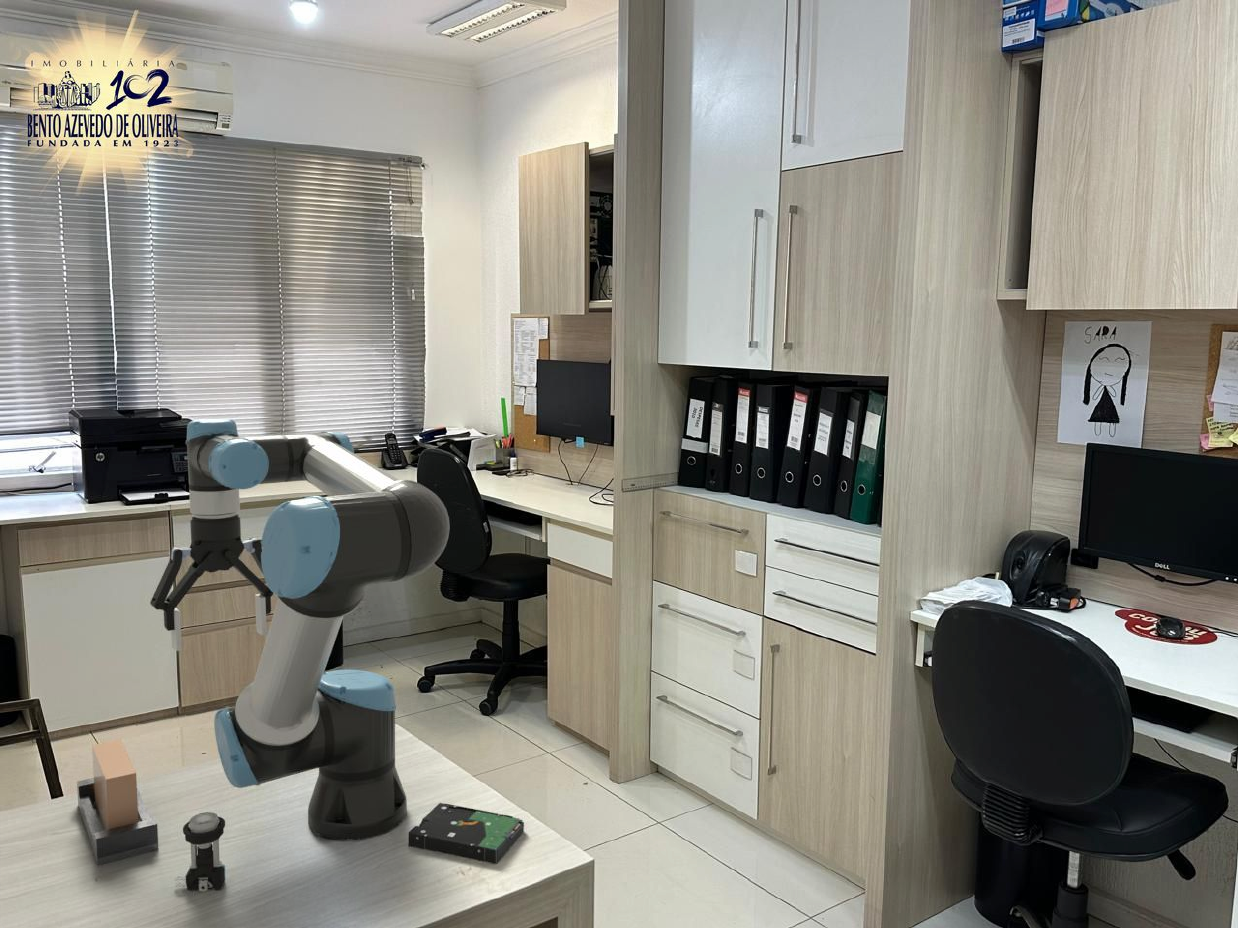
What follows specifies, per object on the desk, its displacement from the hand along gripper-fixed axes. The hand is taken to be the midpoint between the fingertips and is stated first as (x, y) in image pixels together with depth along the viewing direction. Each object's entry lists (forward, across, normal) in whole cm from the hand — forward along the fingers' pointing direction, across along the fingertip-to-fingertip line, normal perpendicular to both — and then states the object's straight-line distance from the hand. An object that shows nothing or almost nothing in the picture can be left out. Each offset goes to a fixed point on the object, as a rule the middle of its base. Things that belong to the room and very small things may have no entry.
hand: (220, 641), depth 161 cm
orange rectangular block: (+24, +18, +4) cm, 30 cm away
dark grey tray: (+25, +18, +4) cm, 31 cm away
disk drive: (+26, -23, +39) cm, 53 cm away
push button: (+26, +13, +28) cm, 40 cm away
